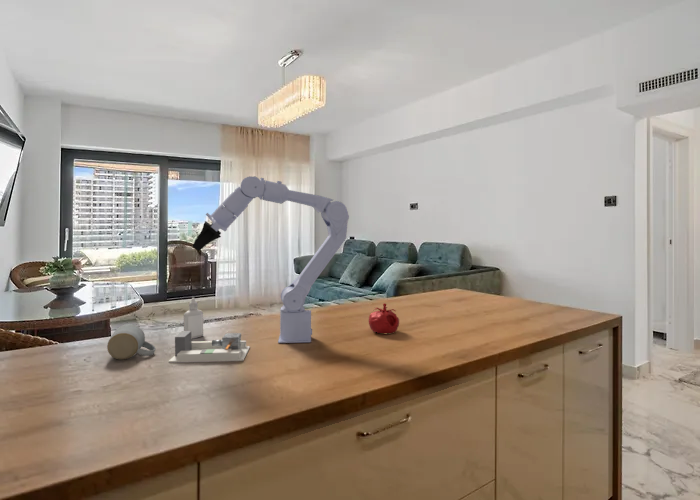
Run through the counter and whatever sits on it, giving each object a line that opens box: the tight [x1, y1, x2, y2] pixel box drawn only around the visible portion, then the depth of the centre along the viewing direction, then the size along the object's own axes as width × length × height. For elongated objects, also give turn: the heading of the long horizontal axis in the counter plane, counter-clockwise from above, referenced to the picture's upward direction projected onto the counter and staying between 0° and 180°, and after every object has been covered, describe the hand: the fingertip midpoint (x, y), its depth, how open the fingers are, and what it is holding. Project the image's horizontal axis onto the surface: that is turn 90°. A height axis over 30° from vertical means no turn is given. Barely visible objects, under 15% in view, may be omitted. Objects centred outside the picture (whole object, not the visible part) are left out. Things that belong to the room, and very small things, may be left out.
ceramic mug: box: [106, 323, 156, 361], centre depth 105 cm, size 11×8×8 cm
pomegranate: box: [368, 302, 400, 334], centre depth 131 cm, size 10×10×9 cm
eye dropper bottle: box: [183, 297, 204, 340], centre depth 123 cm, size 4×6×12 cm
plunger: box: [211, 332, 242, 350], centre depth 105 cm, size 7×9×4 cm
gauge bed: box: [168, 330, 251, 364], centre depth 106 cm, size 18×11×5 cm, turn 96°
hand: (196, 246), depth 113 cm, fingers open, 7 cm apart
